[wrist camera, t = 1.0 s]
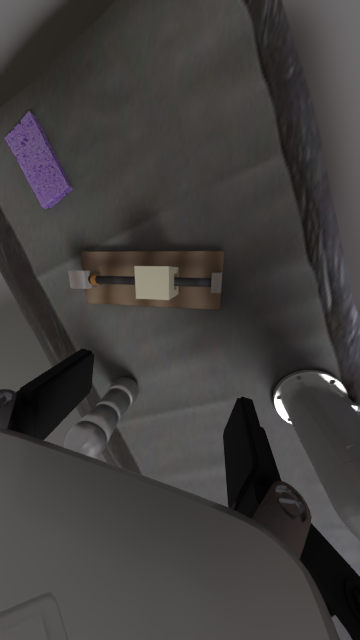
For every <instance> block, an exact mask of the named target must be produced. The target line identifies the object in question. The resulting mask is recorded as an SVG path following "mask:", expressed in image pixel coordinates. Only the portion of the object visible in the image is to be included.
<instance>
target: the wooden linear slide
mask: <svg viewBox="0 0 360 640" xmlns="http://www.w3.org/2000/svg"><path fill="white" fill-rule="evenodd" d="M81 255H82V263H83V270H84V271H68V272H69V279H70V286H71V288H75V289H86V294H87V302H88V303H100V304H119V305H138V306H158V307H177V308H196V309H215V310H220V304H221V290H222V277H223V264H224V251H120V252H81ZM134 266H170V267H179V277H174V286H178V295H176V296H175V297H173V298H171V299H170V300H155V299H136V289H135V270H134Z"/></svg>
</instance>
